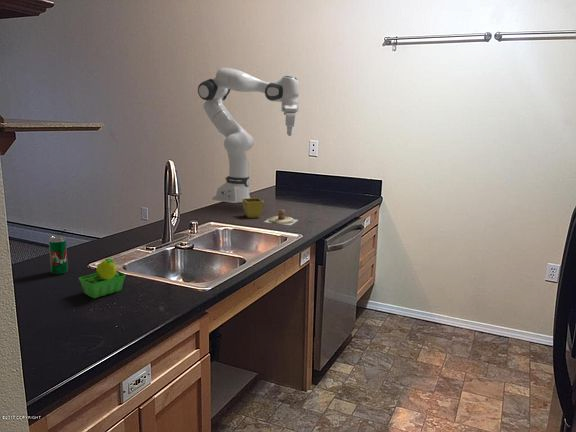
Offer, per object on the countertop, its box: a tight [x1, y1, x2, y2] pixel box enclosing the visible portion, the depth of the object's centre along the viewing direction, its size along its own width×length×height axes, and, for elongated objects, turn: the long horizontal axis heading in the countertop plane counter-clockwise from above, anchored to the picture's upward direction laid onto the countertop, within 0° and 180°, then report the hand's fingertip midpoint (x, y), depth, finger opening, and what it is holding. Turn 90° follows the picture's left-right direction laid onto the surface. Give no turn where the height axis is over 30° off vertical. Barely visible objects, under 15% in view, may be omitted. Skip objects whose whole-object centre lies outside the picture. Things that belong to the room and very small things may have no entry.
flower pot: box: [242, 197, 265, 219], centre depth 244 cm, size 9×9×9 cm
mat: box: [263, 218, 299, 226], centre depth 238 cm, size 14×12×1 cm
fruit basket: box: [78, 257, 126, 299], centre depth 144 cm, size 11×9×11 cm
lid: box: [268, 208, 294, 225], centre depth 238 cm, size 12×12×6 cm
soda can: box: [48, 235, 69, 276], centre depth 158 cm, size 5×5×12 cm
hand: (289, 135), depth 257 cm, fingers open, 8 cm apart
